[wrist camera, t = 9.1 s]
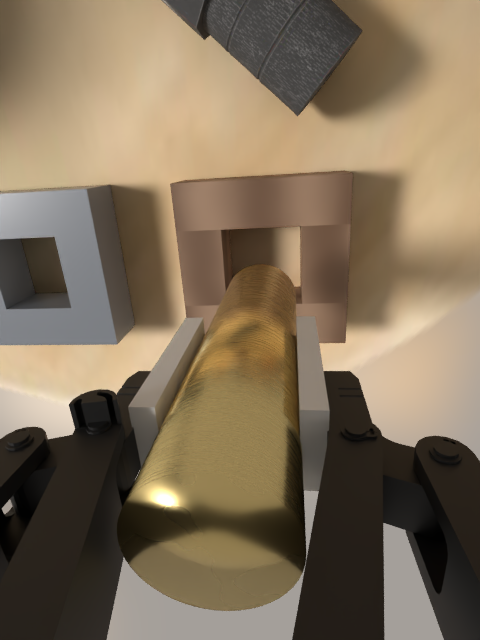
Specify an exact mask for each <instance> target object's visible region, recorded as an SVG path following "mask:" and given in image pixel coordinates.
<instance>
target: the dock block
mask: <svg viewBox="0 0 480 640" xmlns="http://www.w3.org/2000/svg"><path fill="white" fill-rule="evenodd" d="M170 186H171V194H172V202H173V210H174V218H175V227H176V235H177V243H178V251H179V260H180V268H181V276H182V284H183V293H184V301H185V309H186V317H187V318H203V320H204V330H205V334H206V332H207V330H208V328H209V326H210V324H211V322H212V320H213V318H214V315H215V313H216V311H217V309H218V307H219V305H220V303H221V301H222V299H223V297H224V295H225V293H226V290H227V288H228V286H229V284H230V282H231V280H232V279H233V276H232V261H231V247H230V233H229V229H248V228H271V227H295V226H300V238H301V287H294V288H295V293H296V313H297V316H315V320H316V326H317V333H318V339H319V343H345V341H346V319H347V297H348V275H349V253H350V231H351V208H352V186H353V173H351V172H348V171H332V172H315V173H298V174H282V175H265V176H248V177H232V178H215V179H198V180H184V181H180V182H176V183H172V184H170Z"/></svg>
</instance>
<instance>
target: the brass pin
mask: <svg viewBox="0 0 480 640" xmlns="http://www.w3.org/2000/svg"><path fill="white" fill-rule="evenodd" d="M296 316H297V313H296V293H295V288H294V286H293V283H292V282H291V280H290V279H289V277H288V276H287V275H286V274H285V273H284V272H283V271H281V270H280V269H278V268H276V267H274V266H270V265H265V264H256V265H251V266H248V267H246V268H244V269H242V270H241V271H239V272H238V273H237V274H236V275H235V276H234V277H233V279H232V280H231V282H230V284H229V286H228V288H227V290H226V293H225V295H224V297H223V299H222V301H221V303H220V305H219V307H218V309H217V311H216V313H215V315H214V318H213V320H212V322H211V324H210V326H209V328H208V330H207V332H206V334H205V336H204V338H203V340H202V343H201V345H200V347H199V349H198V351H197V353H196V355H195V357H194V359H193V361H192V363H191V365H190V368H189V370H188V372H187V374H186V376H185V378H184V380H183V382H182V384H181V386H180V388H179V390H178V393H177V395H176V397H175V399H174V401H173V403H172V405H171V407H170V409H169V411H168V413H167V415H166V417H165V420H164V422H163V424H162V426H161V428H160V430H159V432H158V434H157V436H156V438H155V440H154V442H153V445H152V447H151V449H150V451H149V453H148V455H147V457H146V459H145V461H144V463H143V465H142V467H141V470H140V472H139V474H138V476H137V478H136V480H135V482H134V484H133V486H132V488H131V490H130V492H129V495H128V497H127V499H126V501H125V503H124V505H123V507H122V509H121V512H120V514H119V517H118V522H117V538H118V543H119V546H120V549H121V552H122V554H123V556H124V558H125V560H126V561H127V562H128V564H129V565H130V567H131V568H132V569H133V570H134V571H135V573H136V574H137V575H138V576H139V577H140V578H141V579H143V580H144V581H145V582H146V583H147V584H149V585H150V586H151V587H153V588H154V589H156V590H157V591H159V592H161V593H162V594H164V595H166V596H168V597H170V598H172V599H174V600H177V601H179V602H182V603H185V604H188V605H192V606H195V607H199V608H204V609H211V610H221V611H235V610H245V609H252V608H256V607H260V606H263V605H265V604H268V603H271V602H273V601H275V600H277V599H279V598H280V597H282V596H283V595H284V594H286V593H287V592H288V591H289V590H290V589H292V588H293V587H294V585H295V584H296V583H297V581H298V580H299V578H300V576H301V574H302V573H303V569H304V566H305V562H306V536H305V511H304V486H303V462H302V446H301V442H300V427H299V398H298V369H297V340H296Z"/></svg>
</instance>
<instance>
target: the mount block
mask: <svg viewBox="0 0 480 640" xmlns="http://www.w3.org/2000/svg"><path fill="white" fill-rule="evenodd" d="M41 237H55V241H56V246H57V250H58V254H59V258H60V262H61V266H62V271H63V275H64V279H65V283H66V287H67V292H68V293H35V290H34V286H33V283H32V279H31V275H30V272H29V268H28V264H27V261H26V257H25V253H24V250H23V246H22V242H21V239H20V238H41ZM134 325H135V322H134V317H133V311H132V305H131V300H130V294H129V288H128V283H127V277H126V271H125V266H124V260H123V255H122V249H121V243H120V238H119V232H118V226H117V221H116V215H115V209H114V204H113V198H112V192H111V187H110V185H98V186H82V187H65V188H48V189H32V190H15V191H0V345H98V344H118V343H119V342H120V341H121V340H122V339H123V338H124V336H125V335H126V334H127V333H128V332H129V331H130V330H131V329H132V328H133V326H134Z"/></svg>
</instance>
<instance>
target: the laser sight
mask: <svg viewBox="0 0 480 640" xmlns="http://www.w3.org/2000/svg"><path fill="white" fill-rule="evenodd" d="M162 1H163V2H164V3H165V4H166V5H167V6H168V7H169V8H170V9H172V10H173V11H174V12H175V13H176V14H177V15H178V16H179V17H180V18H181V19H182V20H183V21H185V22H186V23H187V24H188V25H189V26H190V27H191V28H192V29H193V30H194V31H195V32H197V33H198V34H199V35H200V36H201V37H202V38H203V39H204V40H205V39H206V38H207V37H208V36H210V35H211V36H212V37H213V38H214V39H215V40H216V41H217V42H218V43H219V44H221V45H222V46H223V47H224V48H225V50H226V51H227V52H229V53H230V54H231V55H232V56H233V57H234V58H235V59H236V60H238V61H239V62H240V63H241V64H242V65H243V66H244V67H245V68H246V69H247V70H249V71H250V72H251V73H252V74H253V75H254V76H255V77H256V78H257V79H259V80H260V82H261V83H262V84H263V85H264V86H266V87H267V88H268V89H269V90H270V91H271V92H272V93H273V94H275V95H276V96H277V97H278V98H279V99H280V100H281V101H282V102H283V103H284V104H285V105H286V106H288V107H289V108H290V109H291V110H292V111H293V112H294V113H295V114H296V115H297V116H298V115H299V114H300V113H301V112H302V111H303V110H304V109H305V107H306V106H307V105H308V104H309V102H310V101H311V100H312V99H313V97H314V96H315V95H316V93H317V92H318V91H319V90H320V88H321V87H322V86H323V84H324V83H325V82H326V81H327V79H328V78H329V77H330V75H331V74H332V73H333V71H334V70H335V69H336V67H337V66H338V65H339V63H340V62H341V61H342V59H343V58H344V57H345V55H346V54H347V52H348V51H349V50H350V48H351V47H352V46H353V44H354V43H355V41H356V40H357V38H358V37H359V35H360V34H361V32H362V30H361V29H360V28H359V27H358V26H357V25H356V24H355V23H354V22H353V21H352V20H351V19H350V18H349V17H348V16H347V15H346V14H345V13H344V12H343V11H342V10H340V9H339V7H338V6H337V5H336V4H335V3H334V2H333V1H332V0H162Z"/></svg>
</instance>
